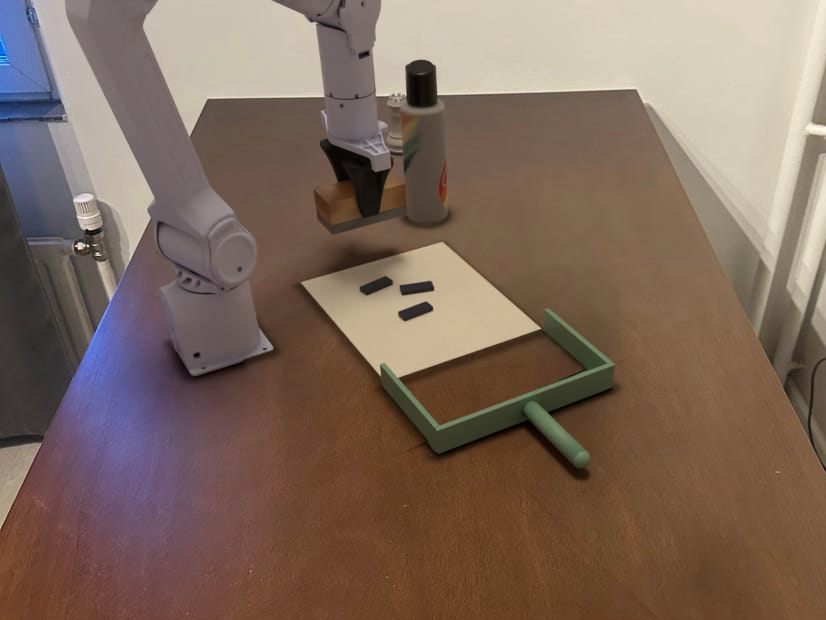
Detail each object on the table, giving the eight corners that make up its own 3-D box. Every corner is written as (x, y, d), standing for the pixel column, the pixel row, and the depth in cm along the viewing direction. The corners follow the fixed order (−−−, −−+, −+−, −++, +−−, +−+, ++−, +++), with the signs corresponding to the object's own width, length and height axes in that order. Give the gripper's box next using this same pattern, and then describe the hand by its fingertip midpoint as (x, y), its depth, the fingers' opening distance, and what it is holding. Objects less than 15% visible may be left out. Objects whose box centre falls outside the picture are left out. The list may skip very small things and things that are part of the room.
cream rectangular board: (385, 385, 96) (385, 381, 95) (301, 285, 110) (300, 282, 110) (541, 332, 103) (541, 328, 102) (442, 245, 117) (442, 241, 117)
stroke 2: (402, 295, 108) (401, 291, 107) (399, 289, 109) (399, 285, 108) (434, 290, 108) (434, 286, 108) (431, 284, 109) (431, 280, 109)
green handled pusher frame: (382, 388, 95) (379, 364, 93) (547, 331, 103) (548, 307, 101) (490, 517, 81) (490, 492, 79) (671, 440, 89) (676, 415, 87)
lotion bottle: (450, 208, 125) (446, 56, 111) (445, 227, 121) (440, 72, 107) (410, 206, 125) (401, 54, 111) (403, 225, 121) (393, 71, 107)
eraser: (332, 235, 106) (328, 203, 103) (317, 219, 108) (313, 188, 106) (407, 214, 109) (405, 183, 106) (390, 200, 112) (388, 169, 109)
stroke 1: (366, 295, 108) (366, 291, 107) (359, 291, 108) (359, 286, 108) (393, 284, 109) (393, 280, 109) (386, 279, 110) (385, 275, 110)
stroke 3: (404, 321, 104) (404, 317, 103) (398, 315, 104) (397, 311, 104) (433, 310, 105) (433, 306, 105) (426, 305, 106) (426, 300, 106)
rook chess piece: (382, 146, 140) (378, 93, 134) (408, 141, 141) (405, 88, 136) (392, 157, 137) (388, 103, 131) (419, 151, 138) (416, 98, 133)
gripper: (412, 104, 95) (418, 222, 105) (354, 63, 104) (365, 176, 114) (352, 117, 93) (364, 238, 102) (298, 75, 102) (314, 189, 111)
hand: (361, 206), depth 108 cm, fingers closed on eraser, 4 cm apart
